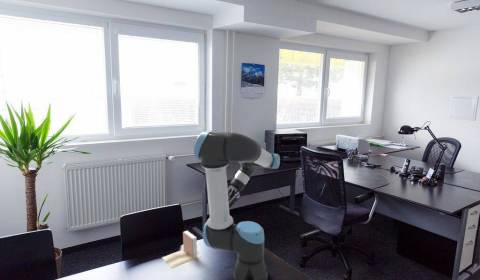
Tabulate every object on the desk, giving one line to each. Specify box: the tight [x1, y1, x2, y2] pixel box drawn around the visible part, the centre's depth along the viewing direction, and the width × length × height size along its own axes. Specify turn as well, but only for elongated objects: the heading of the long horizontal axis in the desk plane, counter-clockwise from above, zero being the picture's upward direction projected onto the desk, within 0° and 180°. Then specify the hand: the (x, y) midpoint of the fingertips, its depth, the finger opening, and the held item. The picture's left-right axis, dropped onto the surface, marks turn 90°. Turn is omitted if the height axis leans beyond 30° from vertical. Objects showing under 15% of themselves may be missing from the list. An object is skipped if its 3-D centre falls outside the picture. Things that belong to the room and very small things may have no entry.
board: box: [161, 248, 203, 269], centre depth 145 cm, size 11×16×1 cm
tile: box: [182, 230, 198, 258], centre depth 147 cm, size 9×2×10 cm, turn 39°
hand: (214, 218), depth 155 cm, fingers closed
